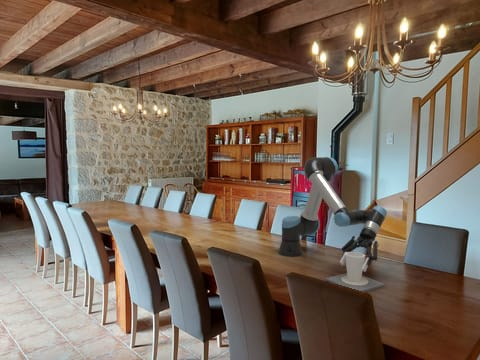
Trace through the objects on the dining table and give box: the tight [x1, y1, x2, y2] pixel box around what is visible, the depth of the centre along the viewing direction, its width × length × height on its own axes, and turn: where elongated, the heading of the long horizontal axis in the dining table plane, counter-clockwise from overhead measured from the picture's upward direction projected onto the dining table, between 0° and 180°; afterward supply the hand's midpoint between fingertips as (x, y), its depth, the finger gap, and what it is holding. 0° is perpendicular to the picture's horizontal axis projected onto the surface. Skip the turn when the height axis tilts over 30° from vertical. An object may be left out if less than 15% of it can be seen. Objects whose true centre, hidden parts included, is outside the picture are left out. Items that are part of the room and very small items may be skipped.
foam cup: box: [345, 251, 366, 282], centre depth 174 cm, size 10×9×13 cm
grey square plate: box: [325, 272, 386, 293], centre depth 175 cm, size 20×20×2 cm
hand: (352, 266), depth 172 cm, fingers open, 11 cm apart
